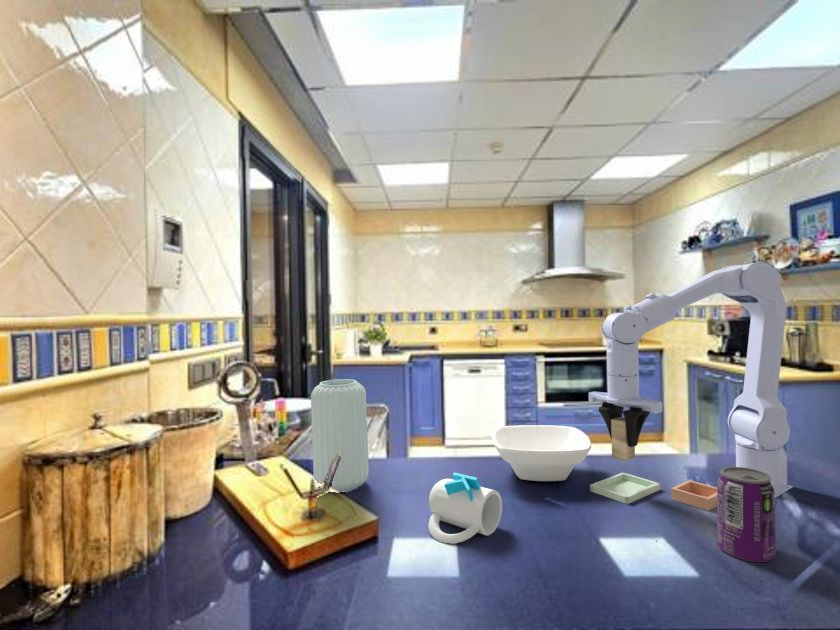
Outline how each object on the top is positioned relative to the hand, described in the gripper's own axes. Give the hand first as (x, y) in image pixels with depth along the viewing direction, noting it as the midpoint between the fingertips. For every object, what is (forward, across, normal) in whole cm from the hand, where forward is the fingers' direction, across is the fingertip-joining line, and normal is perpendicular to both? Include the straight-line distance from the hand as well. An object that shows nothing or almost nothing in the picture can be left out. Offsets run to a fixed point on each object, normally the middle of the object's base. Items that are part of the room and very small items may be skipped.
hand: (624, 443), depth 96 cm
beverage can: (+10, +24, -7) cm, 27 cm away
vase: (+10, -39, -42) cm, 58 cm away
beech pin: (+3, 0, 0) cm, 3 cm away
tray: (+10, 0, 0) cm, 10 cm away
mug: (+10, -9, -35) cm, 38 cm away
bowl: (+10, -17, -5) cm, 20 cm away
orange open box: (+10, +11, +6) cm, 16 cm away
